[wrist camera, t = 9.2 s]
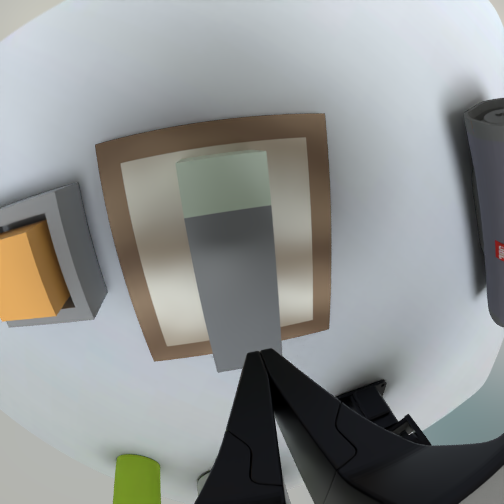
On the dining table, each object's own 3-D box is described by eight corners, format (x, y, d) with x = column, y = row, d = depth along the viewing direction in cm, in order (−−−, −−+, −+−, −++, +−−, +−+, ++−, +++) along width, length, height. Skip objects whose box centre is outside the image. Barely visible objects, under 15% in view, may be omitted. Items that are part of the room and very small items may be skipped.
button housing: (107, 292, 19) (94, 319, 15) (27, 303, 18) (9, 327, 14) (78, 182, 16) (54, 191, 12) (-4, 209, 15) (-30, 222, 11)
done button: (71, 294, 15) (56, 316, 13) (18, 301, 15) (2, 321, 12) (47, 219, 14) (26, 232, 11) (-5, 235, 13) (-27, 248, 11)
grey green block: (267, 323, 20) (282, 360, 17) (212, 333, 20) (217, 372, 16) (250, 149, 16) (266, 151, 12) (181, 159, 15) (175, 163, 12)
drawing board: (324, 322, 23) (329, 330, 22) (155, 353, 21) (153, 363, 20) (318, 114, 17) (326, 113, 16) (100, 144, 15) (93, 144, 14)
